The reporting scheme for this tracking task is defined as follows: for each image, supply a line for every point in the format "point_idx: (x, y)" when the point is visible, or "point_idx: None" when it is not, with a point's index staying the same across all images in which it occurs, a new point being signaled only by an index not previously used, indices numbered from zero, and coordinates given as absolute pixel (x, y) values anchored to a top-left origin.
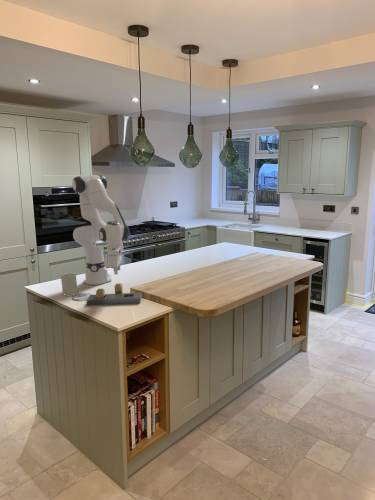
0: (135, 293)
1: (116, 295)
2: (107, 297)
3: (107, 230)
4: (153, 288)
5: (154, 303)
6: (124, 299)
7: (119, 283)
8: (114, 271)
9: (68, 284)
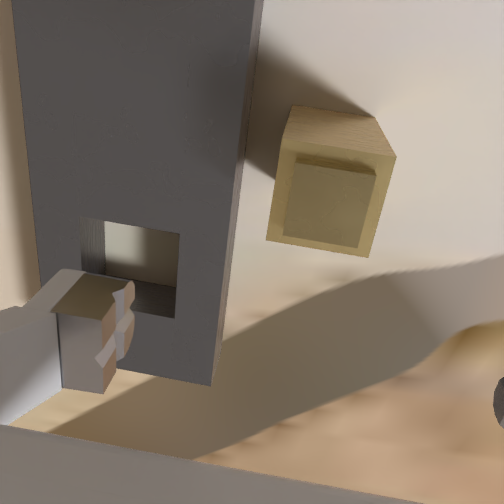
0: (190, 335)
1: (159, 137)
2: (96, 12)
3: None
4: (447, 461)
5: (55, 408)
6: (40, 220)
7: (358, 226)
8: (12, 317)
9: None
